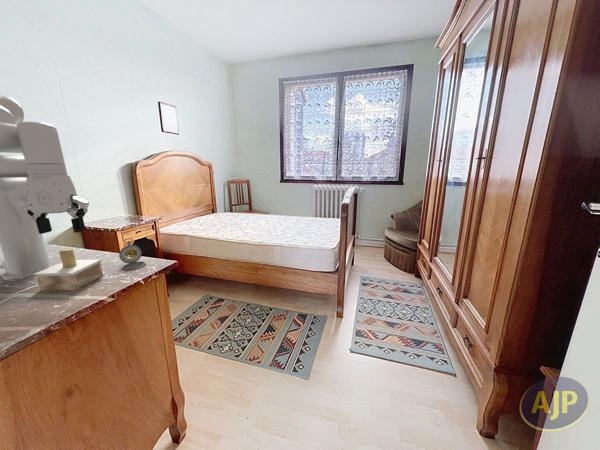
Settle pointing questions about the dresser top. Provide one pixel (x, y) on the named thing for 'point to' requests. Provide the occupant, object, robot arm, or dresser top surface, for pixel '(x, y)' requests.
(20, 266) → the robot arm
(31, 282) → the dresser top surface
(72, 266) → the lid
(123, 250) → the pocket watch
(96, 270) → the keepsake box
